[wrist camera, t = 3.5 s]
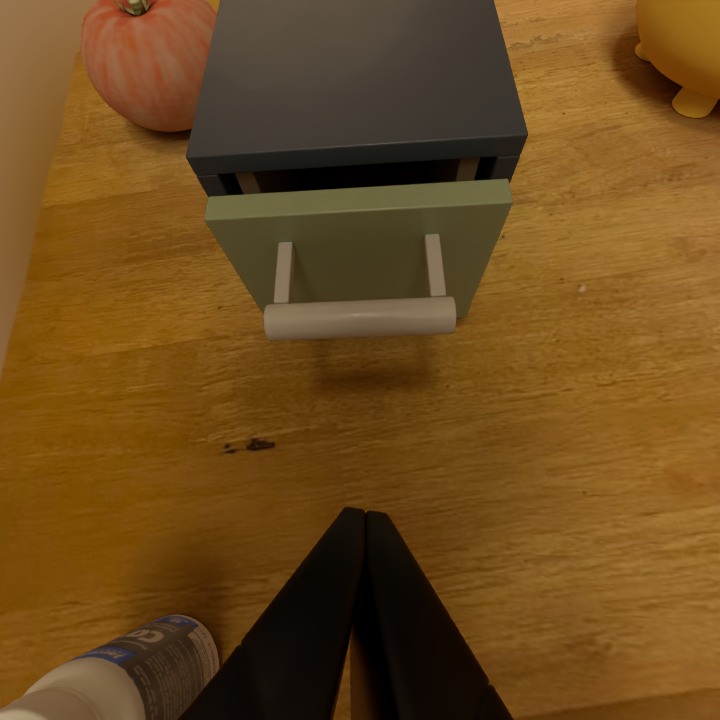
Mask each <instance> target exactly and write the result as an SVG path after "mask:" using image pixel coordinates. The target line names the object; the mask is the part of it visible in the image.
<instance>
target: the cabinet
mask: <svg viewBox="0 0 720 720" xmlns="http://www.w3.org/2000/svg"><path fill="white" fill-rule="evenodd" d="M527 136H528V131H527V128H526V124H525V120H524V116H523V112H522V108H521V104H520V100H519V97H518V93H517V89H516V85H515V81H514V77H513V73H512V69H511V66H510V62H509V58H508V54H507V50H506V46H505V42H504V38H503V35H502V31H501V27H500V23H499V19H498V15H497V11H496V7H495V4H494V0H220V4H219V9H218V13H217V18H216V22H215V27H214V31H213V36H212V40H211V45H210V49H209V54H208V58H207V63H206V68H205V72H204V77H203V81H202V86H201V90H200V95H199V99H198V104H197V108H196V113H195V117H194V122H193V126H192V131H191V135H190V140H189V145H188V149H187V154H186V158H187V160H188V162H189V164H190V165H191V167H192V169H193V171H194V172H195V174H196V175H197V178H198V180H199V182H200V183H201V185H202V187H203V189H204V190H205V192H206V194H207V196H208V197H210V196H227V195H244V194H243V191H242V189H241V187H240V185H239V182H238V180H237V178H236V176H235V173H243V172H258V171H274V170H290V169H306V168H321V167H337V166H353V165H369V164H384V163H400V162H416V161H432V160H448V159H463V158H479V157H480V160H479V164H478V167H477V171H476V175H475V178H474V181H476V180H493V179H508V181H509V184H510V181H511V179H512V176H513V173H514V171H515V168H516V165H517V163H518V160H519V158H520V154H521V152H522V149H523V147H524V144H525V142H526V139H527Z"/></svg>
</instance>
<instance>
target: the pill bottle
mask: <svg viewBox="0 0 720 720" xmlns="http://www.w3.org/2000/svg"><path fill="white" fill-rule="evenodd" d="M218 670H219V658H218V652H217V648H216V645H215V643H214V640H213V638H212V636H211V634H210V632H209V631H208V630H207V629H206V628H205V627H204V625H203V624H201V623H200V622H199V621H197V620H196V619H194V618H191V617H189V616H185V615H169V616H165V617H161V618H159V619H156V620H154V621H152V622H150V623H148V624H145V625H143V626H141V627H139V628H137V629H135V630H133V631H131V632H128V633H126V634H124V635H122V636H120V637H118V638H116V639H114V640H112V641H110V642H108V643H106V644H104V645H102V646H100V647H97V648H95V649H93V650H91V651H89V652H87V653H84V654H83V655H80V656H78V657H76V658H74V659H72V660H70V661H68V662H66V663H64V664H62V665H60V666H58V667H57V668H55V669H53V670H52V671H50V672H49V673H47V674H46V675H44V676H43V677H42V678H40V679H39V680H38V681H37V682H36V683H35V684H34V685H33V686H32V687H30V688H29V689H28V690H27V692H26V693H25V694H24V695H23V696H22V697H20V698H18V699H17V700H15V701H13V702H12V703H10V704H9V705H7V706H5V707H4V708H2V709H0V720H177V719H178V718H179V717H180V716H181V715H182V714H183V713H184V711H185V710H186V709H187V708H188V707H189V706H190V704H191V703H192V702H193V701H194V700H195V698H196V697H197V696H198V695H199V693H200V692H201V691H202V690H203V689H204V687H205V686H206V685H207V684H208V682H209V681H210V680H211V679H212V678H213V676H214V675H215V674H216V673H217V671H218Z"/></svg>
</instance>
